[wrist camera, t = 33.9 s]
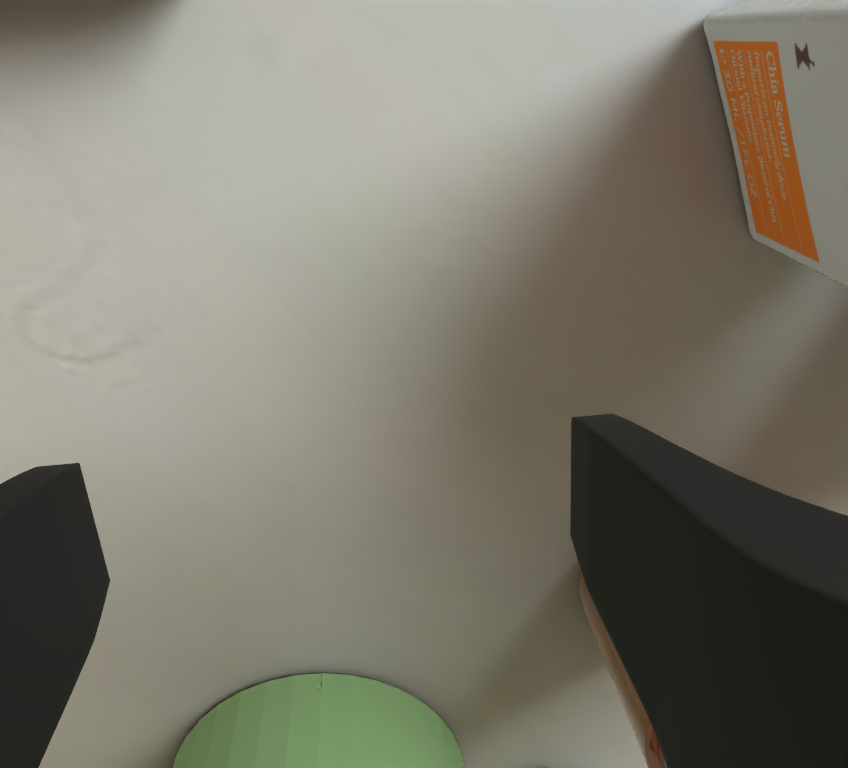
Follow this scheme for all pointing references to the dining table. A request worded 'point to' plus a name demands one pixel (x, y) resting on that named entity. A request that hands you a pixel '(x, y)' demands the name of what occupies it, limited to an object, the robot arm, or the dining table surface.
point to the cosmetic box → (789, 122)
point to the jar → (623, 684)
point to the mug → (320, 728)
